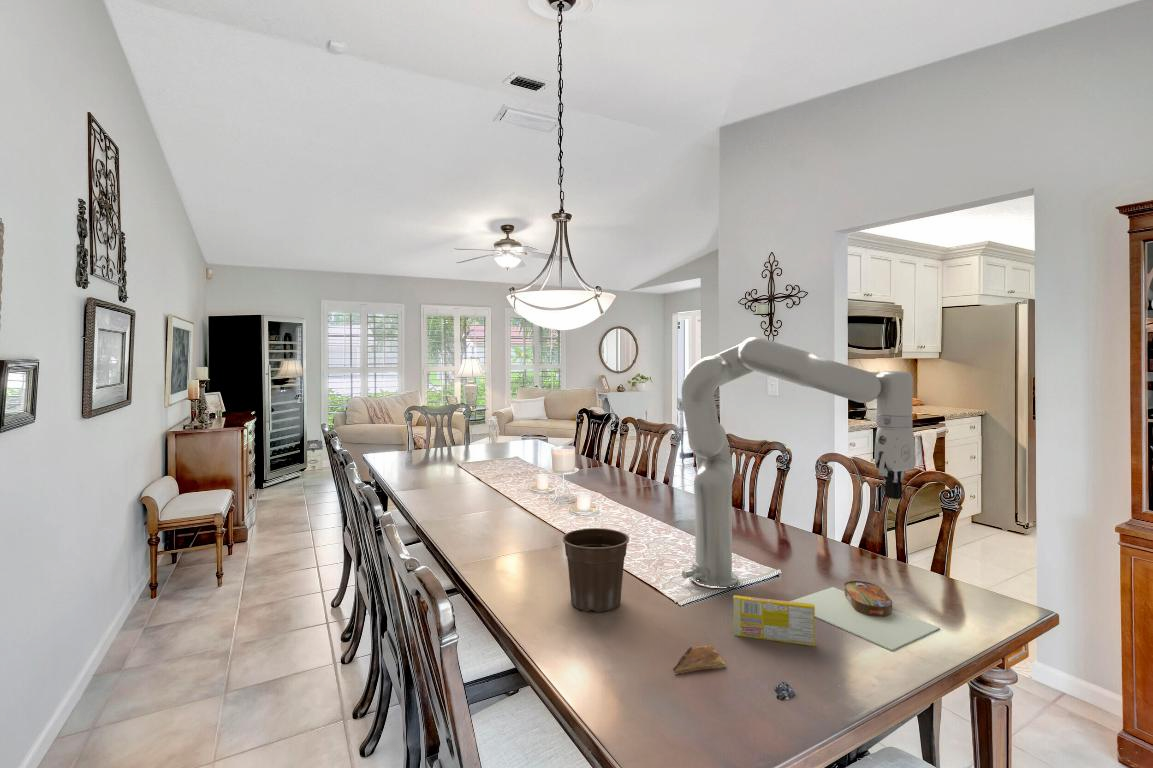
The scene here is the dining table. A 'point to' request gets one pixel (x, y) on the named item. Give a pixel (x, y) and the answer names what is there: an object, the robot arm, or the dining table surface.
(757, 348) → the robot arm
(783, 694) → the blueberries
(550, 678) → the dining table surface
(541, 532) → the dining table surface
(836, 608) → the placemat
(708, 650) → the shard
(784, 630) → the candy box
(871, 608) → the tin
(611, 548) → the plant pot
